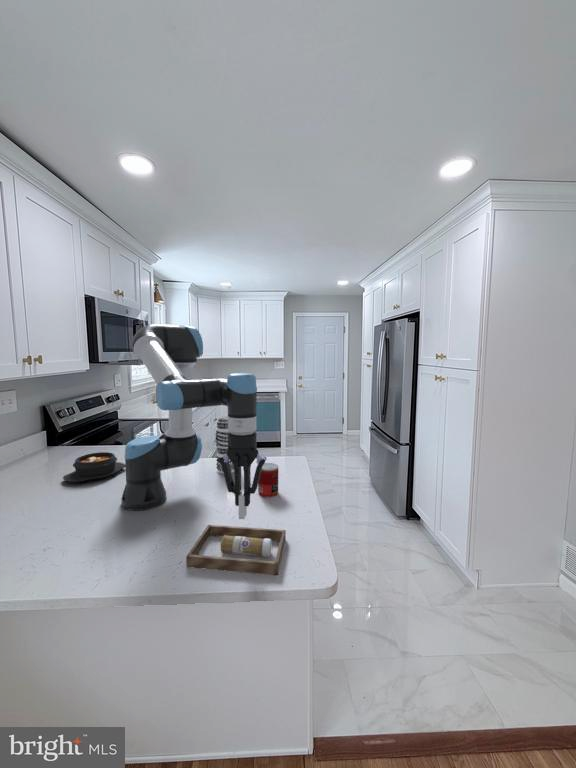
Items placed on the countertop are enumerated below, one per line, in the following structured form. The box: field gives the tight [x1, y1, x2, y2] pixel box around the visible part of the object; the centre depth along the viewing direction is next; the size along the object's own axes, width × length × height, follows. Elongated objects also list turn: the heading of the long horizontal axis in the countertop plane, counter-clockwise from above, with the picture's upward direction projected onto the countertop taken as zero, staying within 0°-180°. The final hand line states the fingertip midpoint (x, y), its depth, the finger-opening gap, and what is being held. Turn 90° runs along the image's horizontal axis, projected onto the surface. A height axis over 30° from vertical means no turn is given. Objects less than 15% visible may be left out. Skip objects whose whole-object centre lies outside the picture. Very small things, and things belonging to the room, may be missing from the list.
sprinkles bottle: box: [220, 535, 273, 558], centre depth 90 cm, size 5×5×14 cm
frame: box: [185, 524, 287, 576], centre depth 90 cm, size 24×16×3 cm, turn 83°
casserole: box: [62, 451, 126, 483], centre depth 146 cm, size 25×19×8 cm
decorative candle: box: [215, 416, 234, 475], centre depth 152 cm, size 9×9×25 cm
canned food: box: [257, 462, 279, 498], centre depth 129 cm, size 8×8×11 cm
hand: (242, 516), depth 90 cm, fingers closed
